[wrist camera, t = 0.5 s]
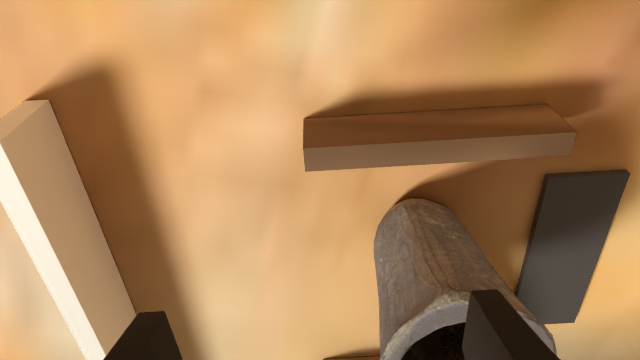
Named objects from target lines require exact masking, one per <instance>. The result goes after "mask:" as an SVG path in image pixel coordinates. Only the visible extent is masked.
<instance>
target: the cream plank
mask: <svg viewBox="0 0 640 360" xmlns="http://www.w3.org/2000/svg"><path fill="white" fill-rule="evenodd" d="M0 201H1V203H2V205H3V207H4V208H5V210H6V212H7V214H8V216H9V218H10V219H11V221H12V223H13V225H14V227H15V229H16V231H17V232H18V234H19V236H20V238H21V240H22V242H23V244H24V245H25V247H26V249H27V251H28V253H29V255H30V257H31V258H32V260H33V262H34V264H35V266H36V268H37V270H38V271H39V273H40V275H41V277H42V279H43V281H44V283H45V284H46V286H47V288H48V290H49V292H50V294H51V296H52V297H53V299H54V301H55V303H56V305H57V307H58V309H59V310H60V312H61V314H62V316H63V318H64V320H65V322H66V323H67V325H68V327H69V329H70V331H71V333H72V334H73V336H74V338H75V340H76V342H77V344H78V346H79V347H80V349H81V351H82V353H83V355H84V357H85V359H86V360H103V359H104V358H105V356H106V355H107V354H108V352H109V351H110V350H111V349H112V347H113V346H114V345H115V343H116V342H117V341H118V339H119V338H120V337H121V335H122V334H123V333H124V331H125V330H126V329H127V327H128V326H129V325H130V323H131V322H132V321H133V319H134V318H135V317H136V316H137V315H136V313H135V310H134V308H133V305H132V303H131V301H130V298H129V296H128V293H127V291H126V288H125V286H124V283H123V281H122V278H121V276H120V274H119V271H118V269H117V266H116V264H115V261H114V259H113V256H112V254H111V251H110V249H109V246H108V244H107V242H106V239H105V237H104V234H103V232H102V229H101V227H100V224H99V222H98V219H97V217H96V215H95V212H94V210H93V207H92V205H91V202H90V200H89V197H88V195H87V192H86V190H85V188H84V185H83V183H82V180H81V178H80V175H79V173H78V170H77V168H76V165H75V163H74V160H73V158H72V156H71V153H70V151H69V148H68V146H67V143H66V141H65V138H64V136H63V133H62V131H61V129H60V126H59V124H58V121H57V119H56V116H55V114H54V111H53V109H52V106H51V104H50V102H49V99H47V100H31V101H23V102H22V103H20V104H19V105H18V106H17V107H15V108H14V109H13V110H12V111H10V112H9V113H8V114H7V115H5V116H4V117H3V118H1V119H0Z"/></svg>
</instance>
